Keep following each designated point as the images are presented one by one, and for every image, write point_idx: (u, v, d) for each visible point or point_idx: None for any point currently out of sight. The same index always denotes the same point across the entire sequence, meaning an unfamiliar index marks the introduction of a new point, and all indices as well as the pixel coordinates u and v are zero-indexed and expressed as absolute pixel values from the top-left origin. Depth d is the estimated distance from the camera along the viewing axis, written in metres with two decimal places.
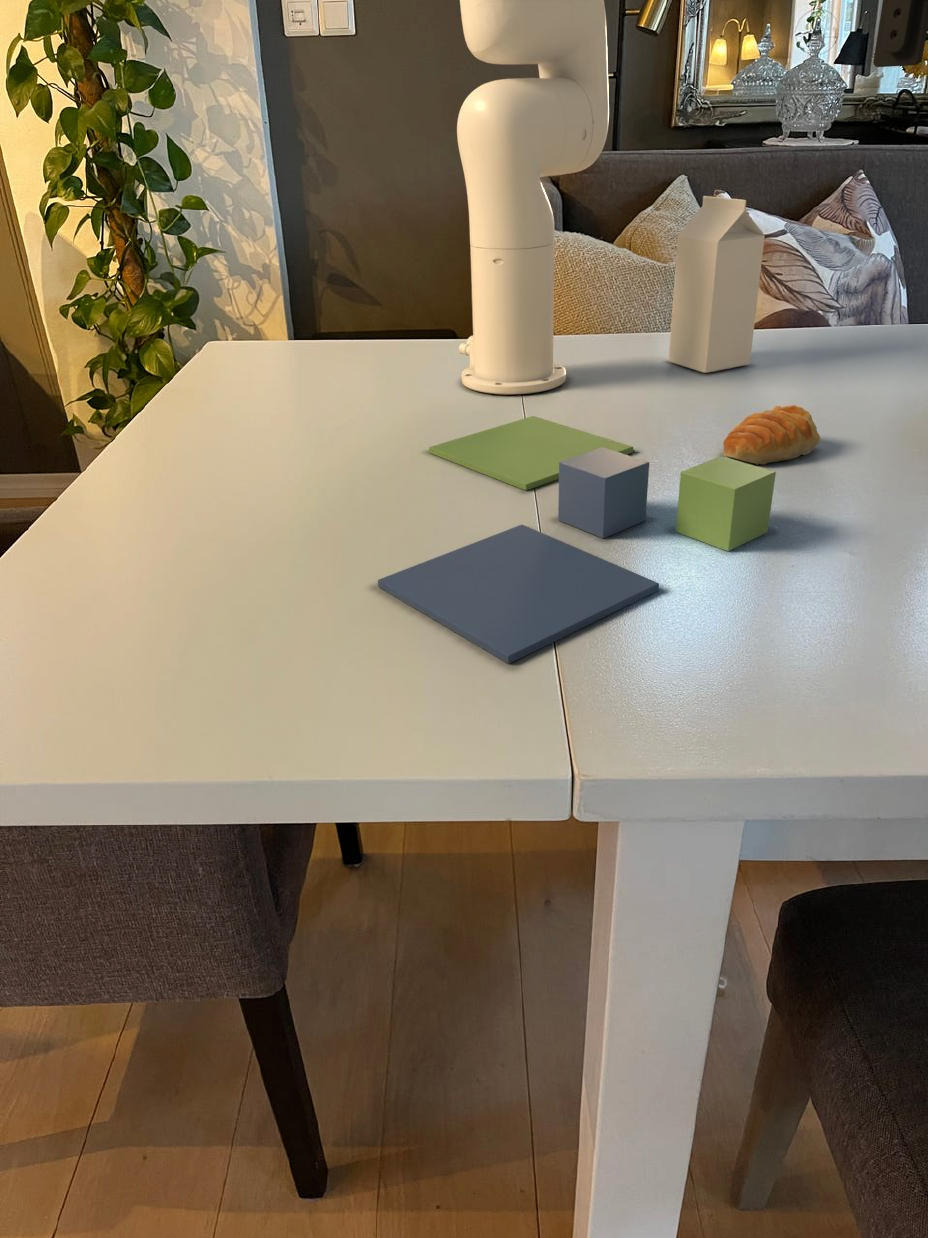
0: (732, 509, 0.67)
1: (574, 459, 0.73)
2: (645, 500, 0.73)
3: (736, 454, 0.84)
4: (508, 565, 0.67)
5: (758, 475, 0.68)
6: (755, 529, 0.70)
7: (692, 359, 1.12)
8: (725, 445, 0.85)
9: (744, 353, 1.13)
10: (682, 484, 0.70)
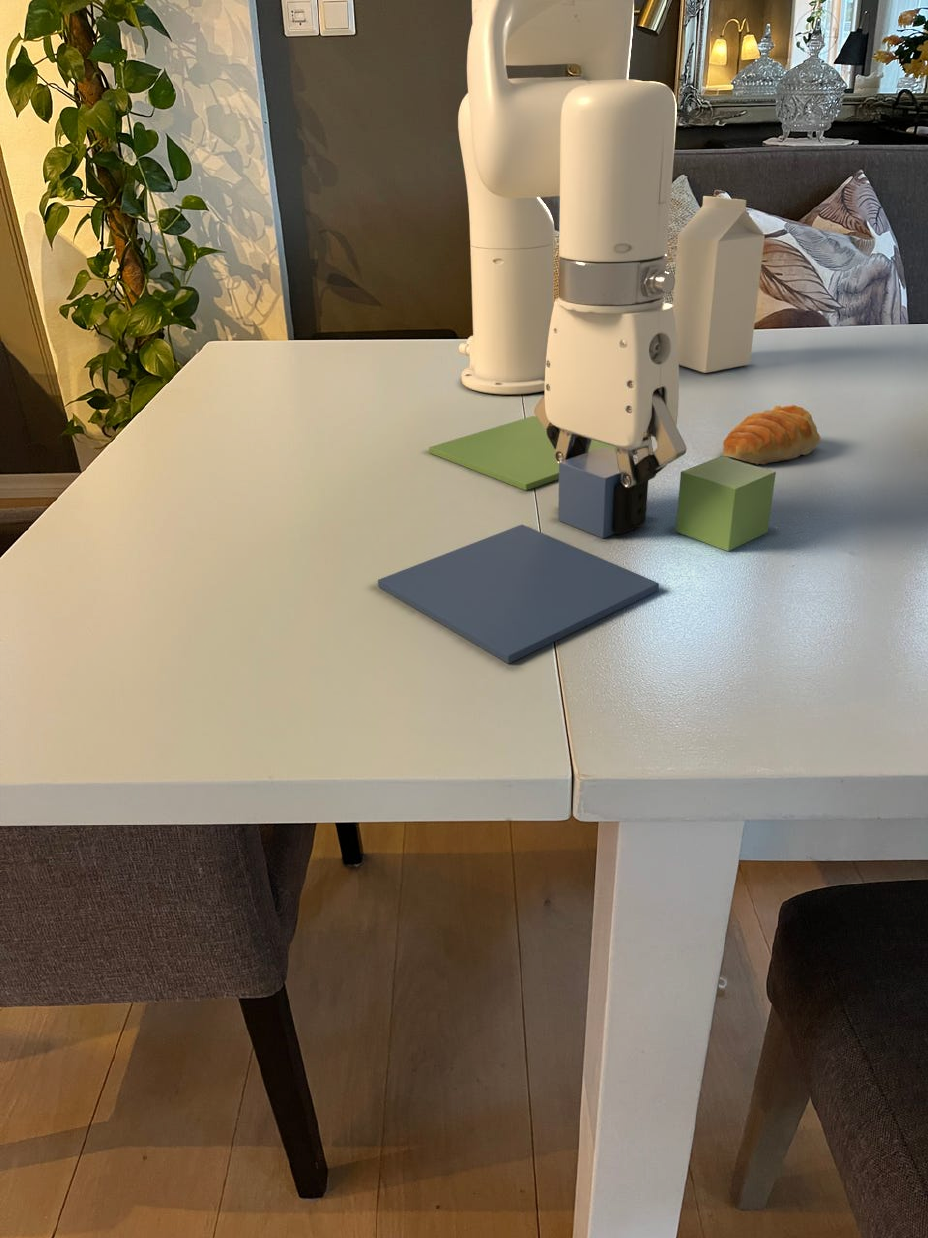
0: (732, 509, 0.67)
1: (574, 459, 0.73)
2: None
3: (736, 454, 0.84)
4: (508, 565, 0.67)
5: (758, 475, 0.68)
6: (755, 529, 0.70)
7: (692, 359, 1.12)
8: (725, 445, 0.85)
9: (744, 353, 1.13)
10: (682, 484, 0.70)
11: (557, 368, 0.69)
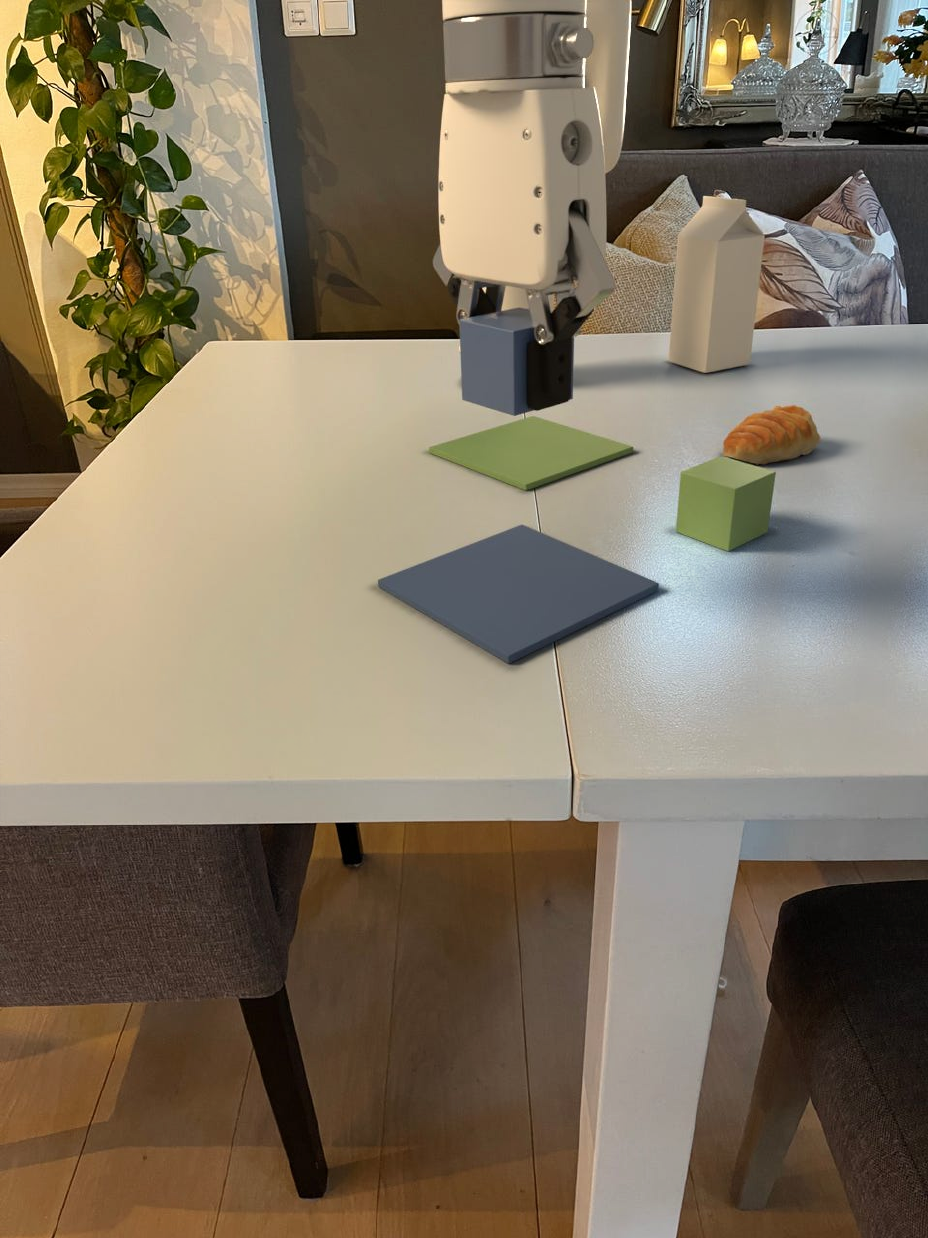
0: (732, 509, 0.67)
1: (478, 317, 0.57)
2: (571, 370, 0.57)
3: (736, 454, 0.84)
4: (508, 565, 0.67)
5: (758, 475, 0.68)
6: (755, 529, 0.70)
7: (692, 359, 1.12)
8: (725, 445, 0.85)
9: (744, 353, 1.13)
10: (682, 484, 0.70)
11: (451, 189, 0.53)
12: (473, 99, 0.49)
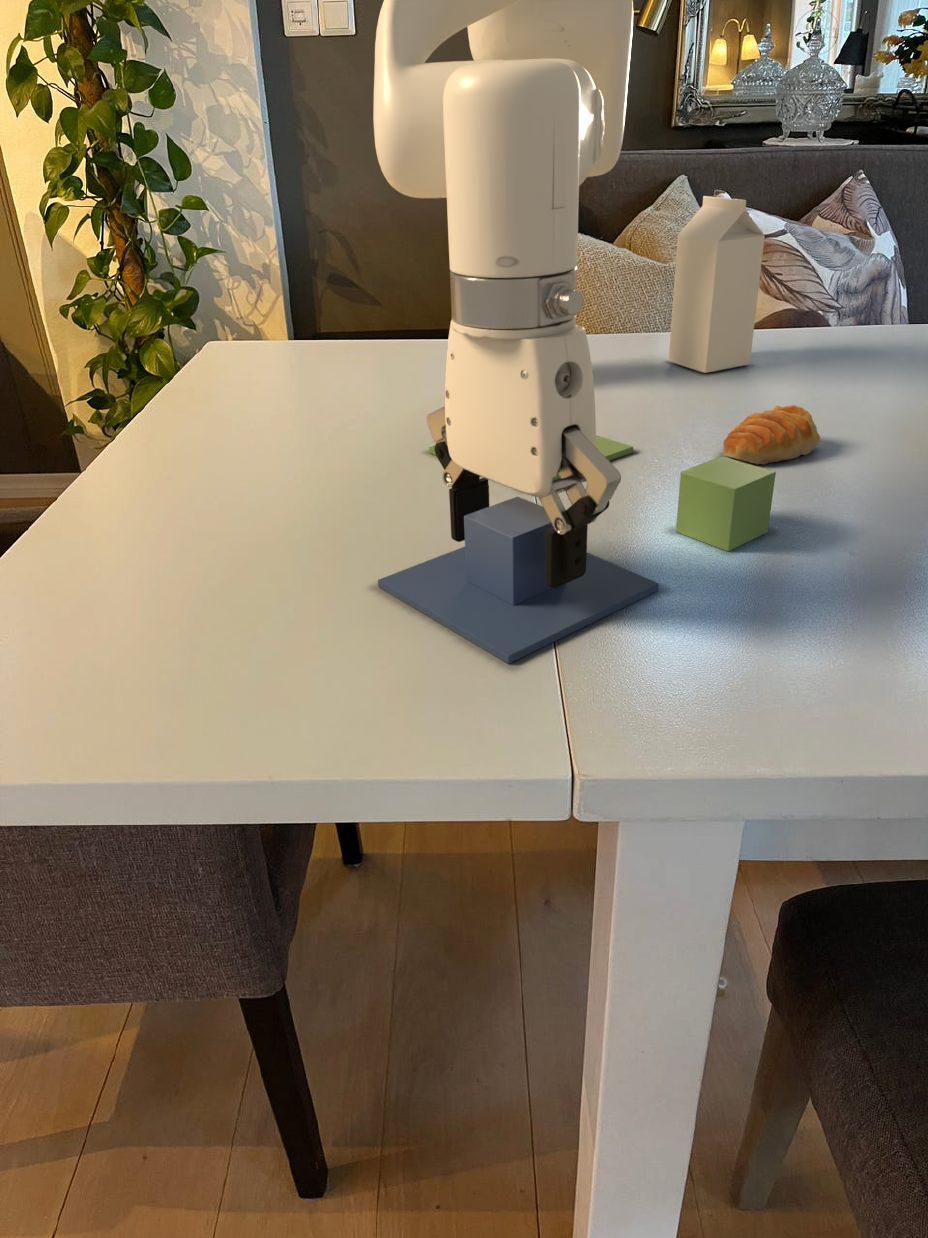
0: (732, 509, 0.67)
1: (481, 513, 0.63)
2: None
3: (736, 454, 0.84)
4: None
5: (758, 475, 0.68)
6: (755, 529, 0.70)
7: (692, 359, 1.12)
8: (725, 445, 0.85)
9: (744, 353, 1.13)
10: (682, 484, 0.70)
11: (456, 400, 0.59)
12: None
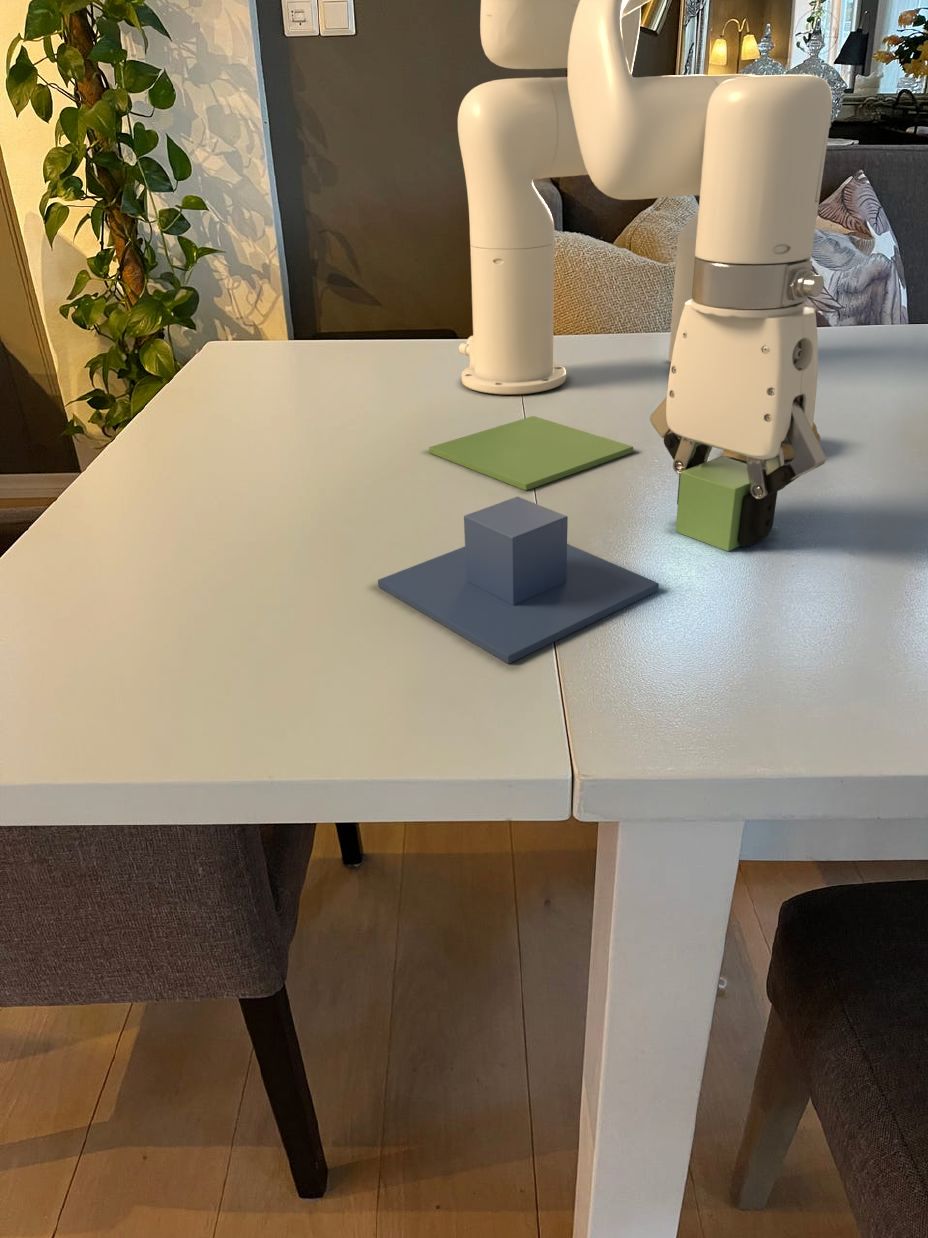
0: (732, 509, 0.67)
1: (481, 513, 0.63)
2: (565, 559, 0.63)
3: (736, 454, 0.84)
4: None
5: None
6: None
7: None
8: None
9: None
10: (682, 484, 0.70)
11: (684, 374, 0.67)
12: (717, 316, 0.63)
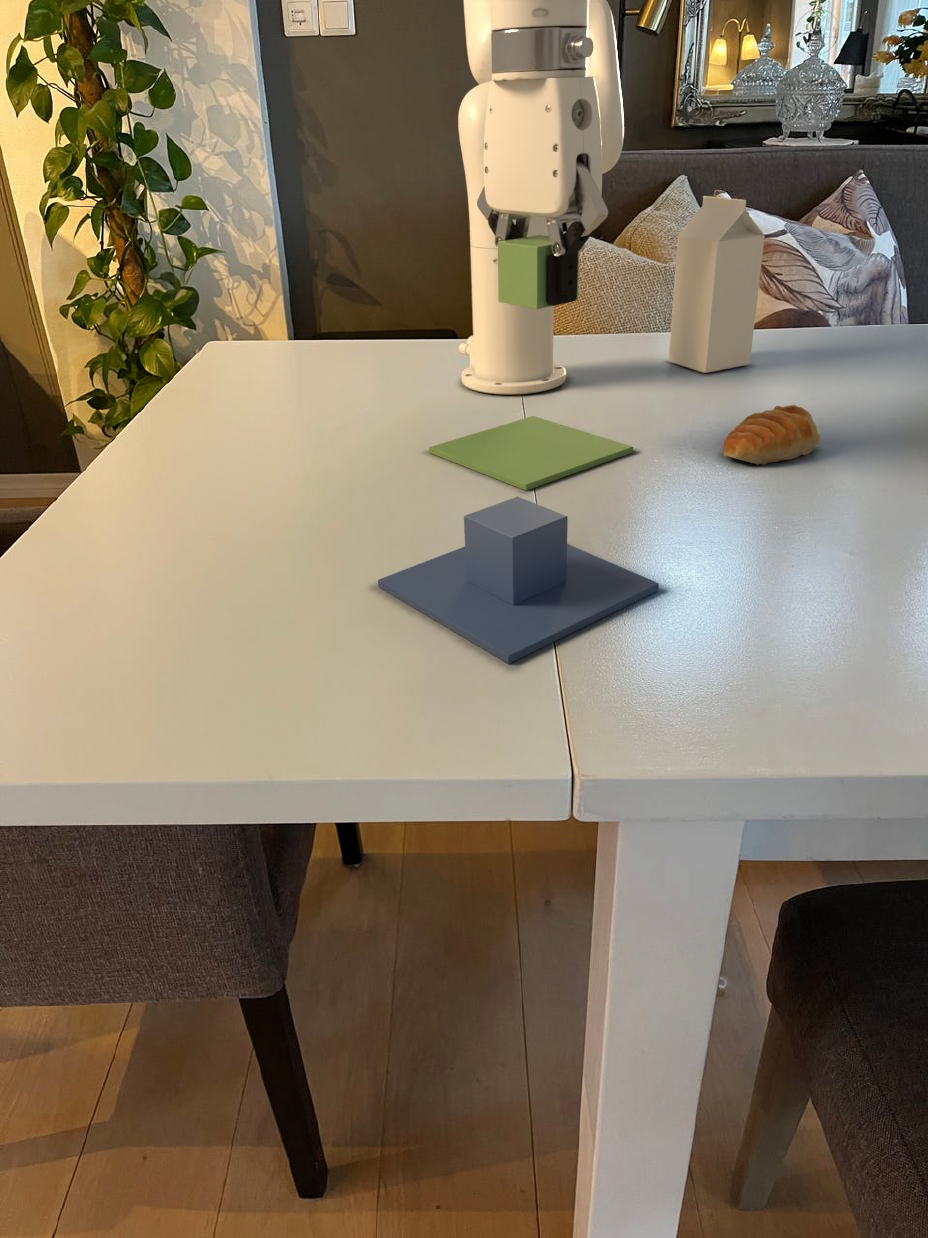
0: (536, 266, 0.77)
1: (481, 513, 0.63)
2: (565, 559, 0.63)
3: (736, 454, 0.84)
4: None
5: None
6: None
7: (692, 359, 1.12)
8: (725, 445, 0.85)
9: (744, 353, 1.13)
10: (499, 253, 0.80)
11: (493, 147, 0.76)
12: (511, 84, 0.72)
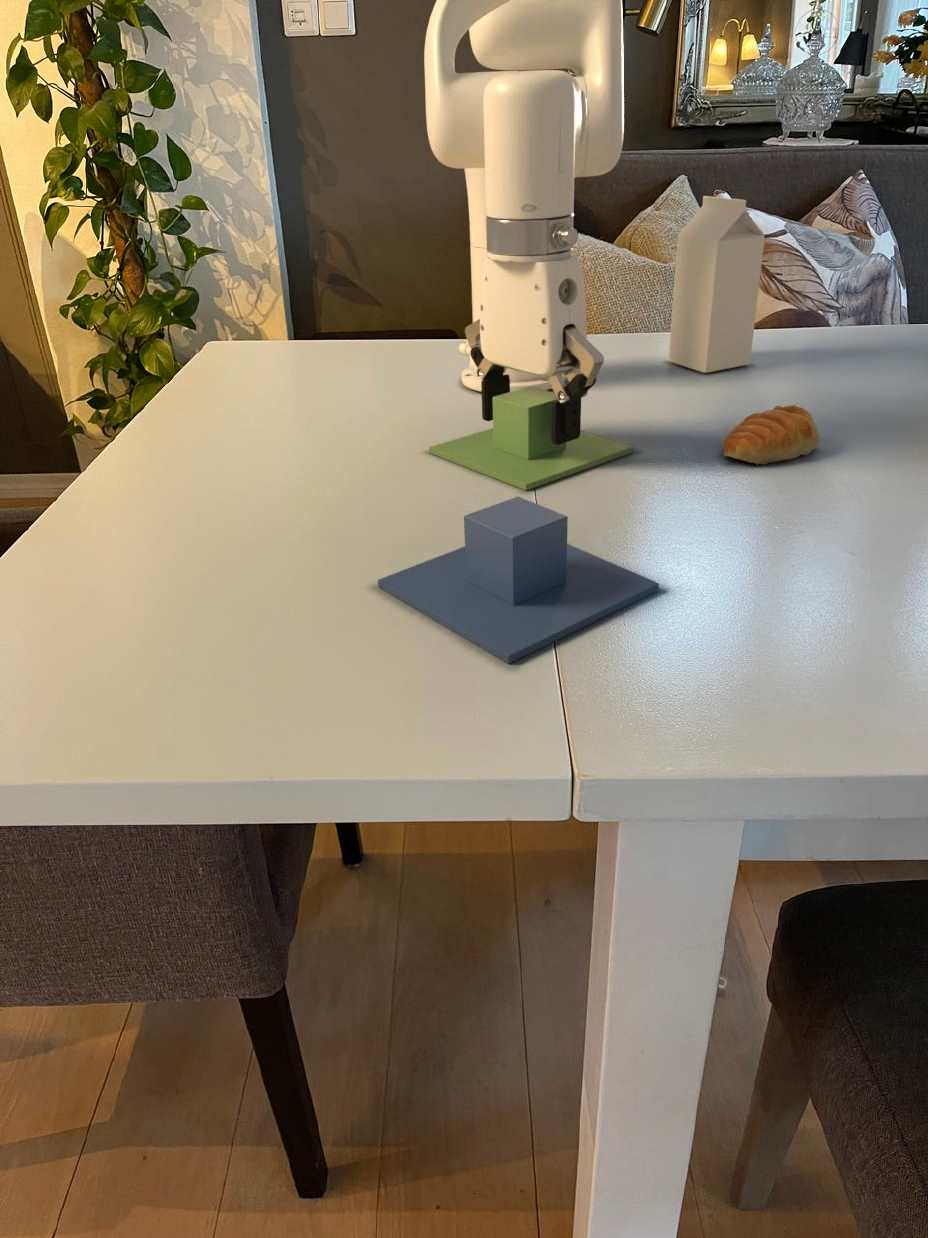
0: (527, 424, 0.84)
1: (481, 513, 0.63)
2: (565, 559, 0.63)
3: (736, 454, 0.84)
4: None
5: (552, 398, 0.85)
6: None
7: (692, 359, 1.12)
8: (725, 445, 0.85)
9: (744, 353, 1.13)
10: (494, 407, 0.87)
11: (488, 311, 0.84)
12: (504, 262, 0.80)
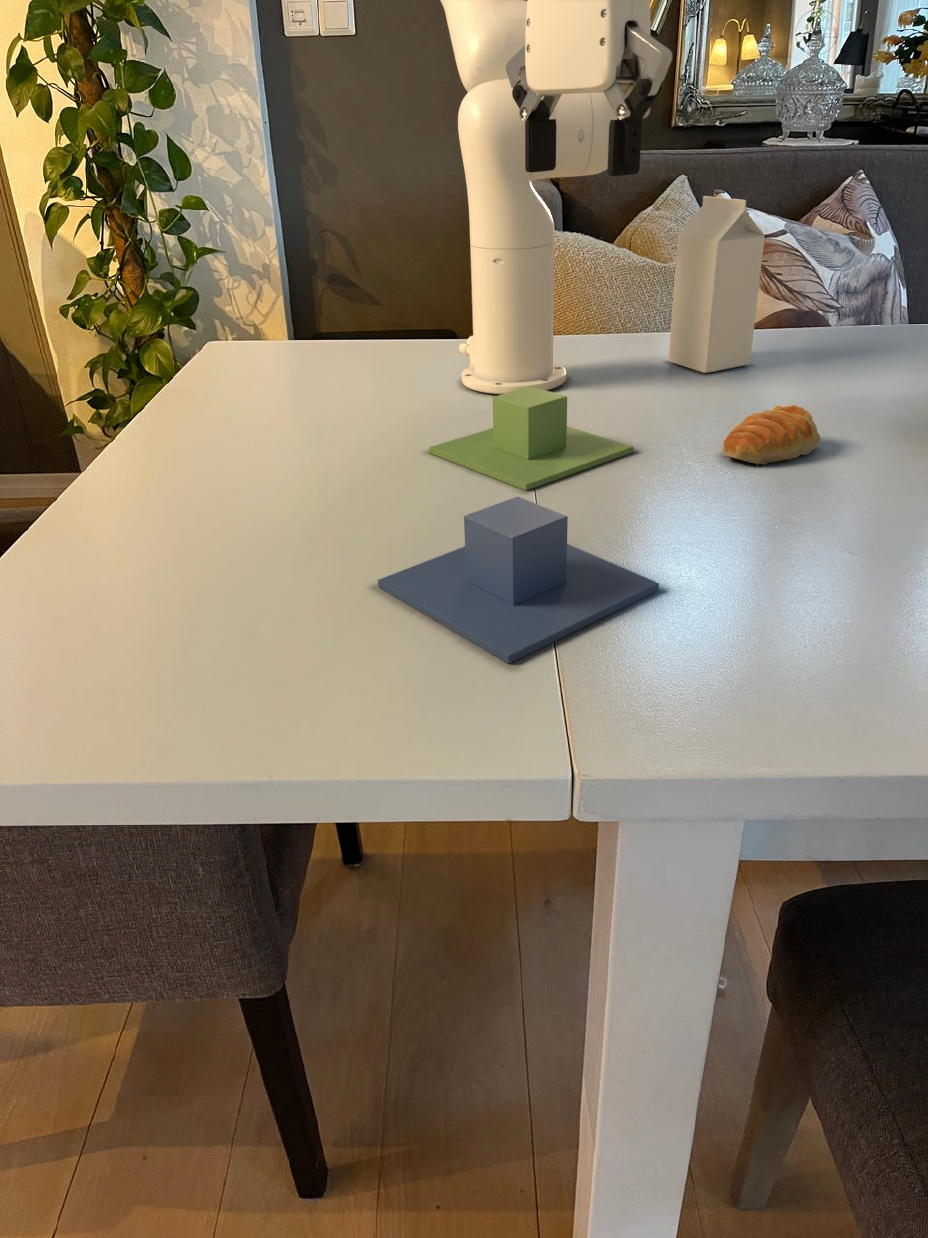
0: (527, 424, 0.84)
1: (481, 513, 0.63)
2: (565, 559, 0.63)
3: (736, 454, 0.84)
4: None
5: (552, 398, 0.85)
6: (553, 443, 0.87)
7: (692, 359, 1.12)
8: (725, 445, 0.85)
9: (744, 353, 1.13)
10: (494, 407, 0.87)
11: (536, 22, 0.73)
12: None
